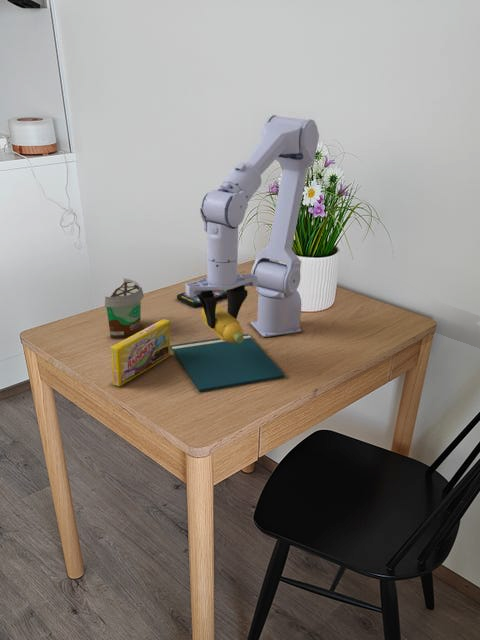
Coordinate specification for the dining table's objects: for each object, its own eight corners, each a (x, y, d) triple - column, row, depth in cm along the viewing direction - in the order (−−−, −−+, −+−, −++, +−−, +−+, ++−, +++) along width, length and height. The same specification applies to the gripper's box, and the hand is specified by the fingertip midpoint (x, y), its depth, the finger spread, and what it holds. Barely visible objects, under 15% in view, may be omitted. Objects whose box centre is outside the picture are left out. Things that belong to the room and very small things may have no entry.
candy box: (120, 388, 121) (117, 349, 117) (112, 385, 122) (108, 346, 118) (171, 356, 133) (170, 320, 128) (163, 353, 134) (162, 317, 129)
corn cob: (215, 317, 133) (215, 299, 131) (249, 347, 122) (249, 328, 120) (198, 320, 132) (198, 302, 130) (230, 350, 120) (231, 331, 118)
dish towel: (247, 336, 142) (247, 333, 142) (284, 377, 127) (285, 374, 126) (170, 347, 136) (170, 344, 136) (199, 392, 121) (199, 389, 121)
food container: (135, 343, 138) (131, 300, 132) (108, 340, 138) (104, 297, 133) (152, 321, 148) (150, 280, 142) (127, 318, 149) (124, 277, 143)
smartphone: (239, 289, 163) (195, 304, 154) (239, 293, 163) (195, 308, 154) (218, 281, 167) (174, 295, 158) (218, 284, 168) (174, 298, 159)
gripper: (246, 247, 125) (244, 311, 132) (178, 256, 119) (180, 322, 127) (263, 258, 120) (260, 324, 127) (193, 268, 114) (194, 336, 121)
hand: (221, 324), depth 126 cm, fingers closed on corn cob, 4 cm apart
